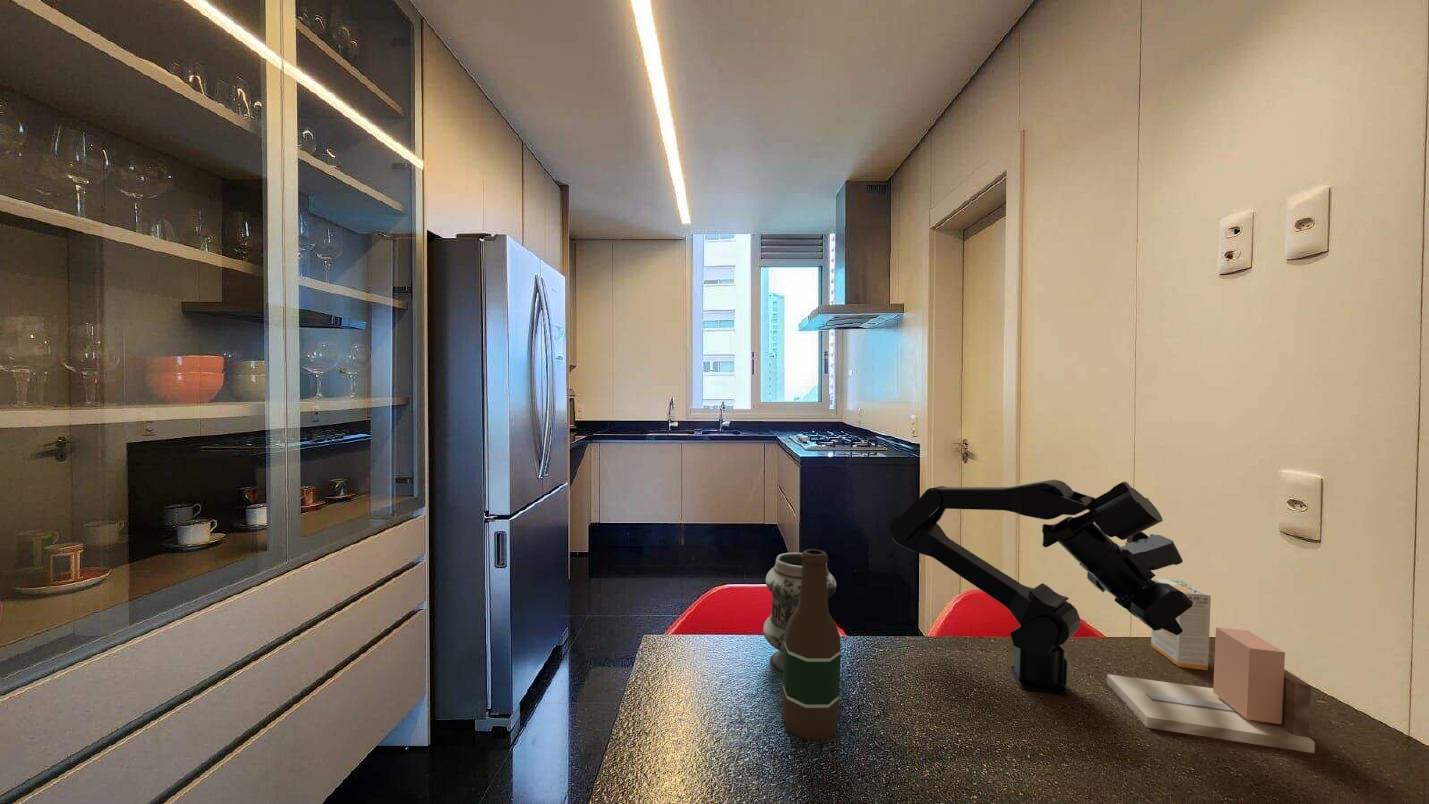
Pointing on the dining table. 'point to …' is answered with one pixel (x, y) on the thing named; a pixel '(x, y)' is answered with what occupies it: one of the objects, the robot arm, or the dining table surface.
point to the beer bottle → (812, 657)
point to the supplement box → (1187, 631)
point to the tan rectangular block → (1249, 675)
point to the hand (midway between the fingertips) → (1178, 632)
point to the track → (1217, 712)
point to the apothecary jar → (785, 601)
